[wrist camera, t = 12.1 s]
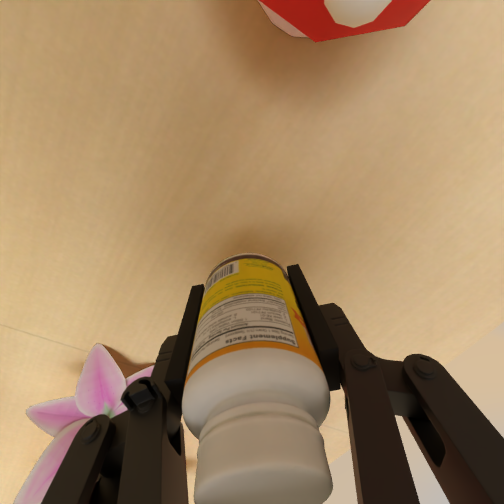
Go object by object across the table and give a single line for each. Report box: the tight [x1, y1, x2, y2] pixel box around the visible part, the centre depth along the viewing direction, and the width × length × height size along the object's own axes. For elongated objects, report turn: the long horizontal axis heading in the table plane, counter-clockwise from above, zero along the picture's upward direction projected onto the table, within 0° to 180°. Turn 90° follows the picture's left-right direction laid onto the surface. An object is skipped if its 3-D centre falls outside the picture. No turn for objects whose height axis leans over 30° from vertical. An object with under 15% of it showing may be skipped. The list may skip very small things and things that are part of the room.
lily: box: [13, 343, 154, 504], centre depth 22 cm, size 12×12×10 cm
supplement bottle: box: [182, 253, 333, 504], centre depth 11 cm, size 6×6×10 cm
